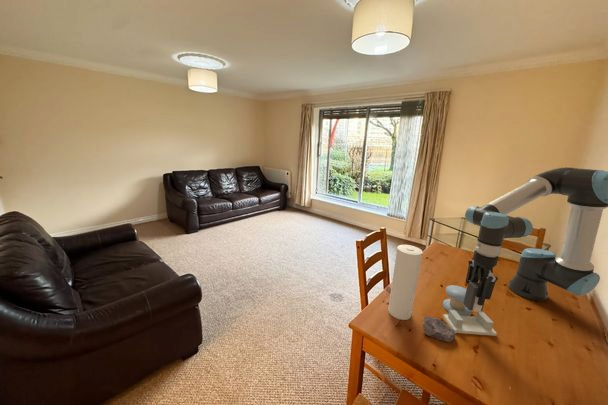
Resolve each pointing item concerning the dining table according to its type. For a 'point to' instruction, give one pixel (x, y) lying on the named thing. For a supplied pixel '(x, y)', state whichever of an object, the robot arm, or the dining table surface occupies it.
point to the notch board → (470, 323)
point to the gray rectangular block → (471, 295)
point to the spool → (456, 300)
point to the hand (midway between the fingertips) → (472, 306)
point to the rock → (438, 329)
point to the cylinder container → (404, 281)
